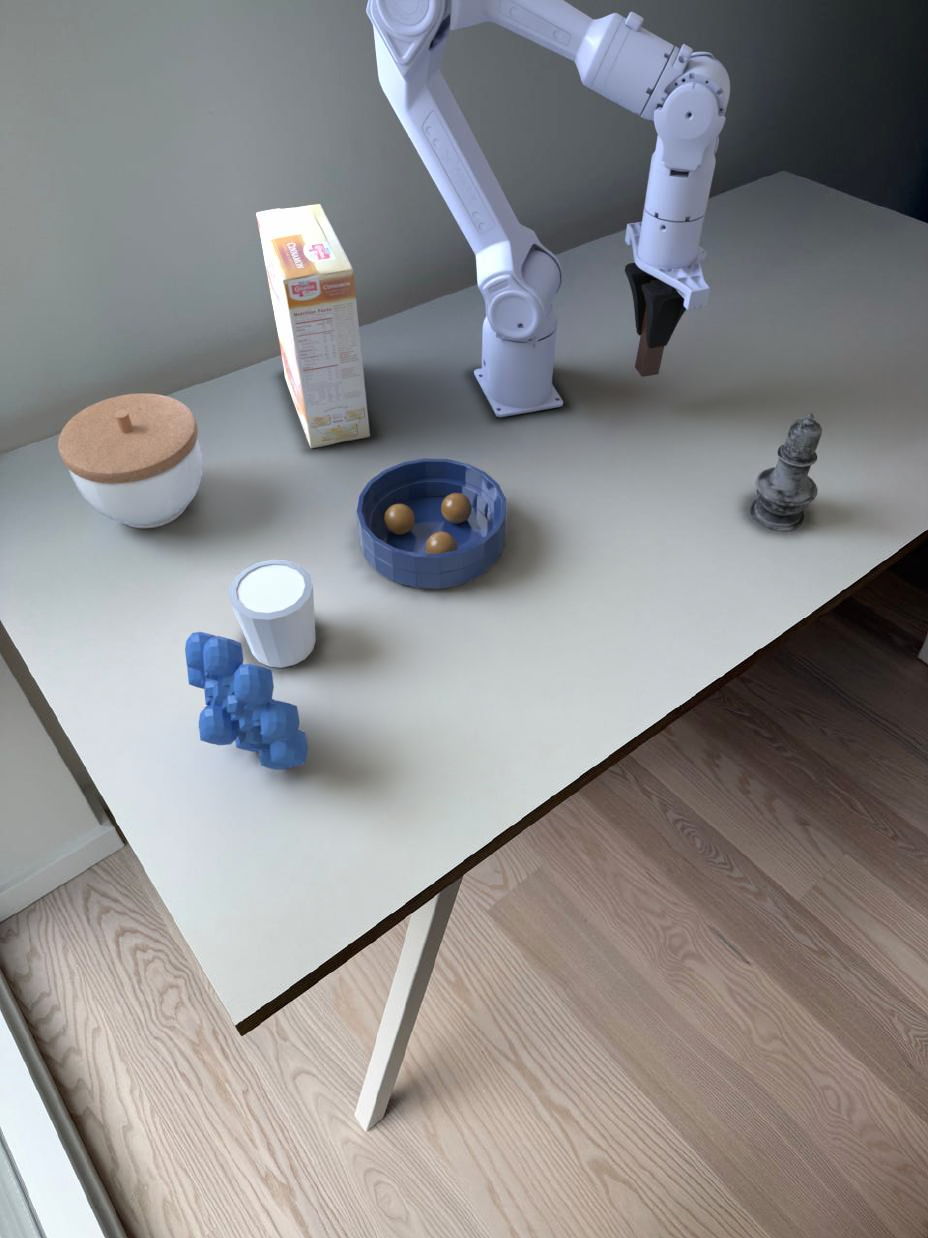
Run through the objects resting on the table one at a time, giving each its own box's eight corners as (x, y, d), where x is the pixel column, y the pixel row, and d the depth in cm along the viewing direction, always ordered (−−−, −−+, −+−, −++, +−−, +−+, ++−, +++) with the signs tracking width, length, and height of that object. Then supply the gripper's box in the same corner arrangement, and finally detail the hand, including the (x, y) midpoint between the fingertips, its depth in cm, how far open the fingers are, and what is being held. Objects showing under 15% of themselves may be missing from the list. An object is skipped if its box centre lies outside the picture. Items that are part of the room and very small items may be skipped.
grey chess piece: (809, 536, 87) (848, 436, 78) (747, 529, 88) (779, 428, 79) (805, 498, 91) (842, 398, 82) (746, 491, 92) (776, 391, 83)
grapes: (169, 743, 71) (126, 647, 62) (233, 690, 75) (201, 592, 66) (268, 825, 66) (237, 734, 57) (332, 765, 70) (312, 670, 61)
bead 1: (381, 523, 88) (379, 500, 86) (411, 518, 88) (410, 494, 86) (388, 543, 86) (386, 520, 84) (418, 537, 86) (417, 514, 84)
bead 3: (422, 551, 85) (421, 528, 83) (452, 545, 86) (452, 522, 84) (430, 573, 83) (429, 549, 81) (461, 566, 84) (461, 543, 82)
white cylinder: (246, 616, 80) (231, 560, 75) (323, 611, 81) (313, 555, 76) (240, 676, 76) (224, 621, 71) (321, 670, 76) (311, 615, 71)
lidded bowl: (238, 480, 93) (215, 389, 85) (173, 560, 85) (142, 468, 77) (133, 455, 96) (102, 365, 88) (62, 530, 88) (20, 439, 80)
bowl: (348, 507, 90) (343, 472, 87) (480, 482, 93) (481, 447, 89) (378, 605, 81) (374, 570, 78) (524, 574, 84) (526, 539, 80)
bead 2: (437, 512, 89) (437, 489, 87) (466, 507, 89) (466, 484, 87) (445, 532, 87) (445, 509, 85) (475, 526, 88) (475, 503, 85)
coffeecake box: (283, 376, 106) (253, 210, 91) (341, 365, 107) (322, 201, 93) (308, 450, 96) (280, 279, 82) (372, 437, 98) (355, 267, 83)
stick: (634, 367, 97) (650, 280, 90) (650, 364, 98) (668, 277, 90) (641, 377, 96) (659, 289, 88) (658, 374, 96) (677, 287, 89)
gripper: (751, 237, 80) (718, 369, 90) (679, 172, 89) (656, 299, 99) (679, 247, 78) (654, 381, 89) (613, 181, 88) (598, 309, 98)
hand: (651, 339), depth 94 cm, fingers closed on stick, 2 cm apart
